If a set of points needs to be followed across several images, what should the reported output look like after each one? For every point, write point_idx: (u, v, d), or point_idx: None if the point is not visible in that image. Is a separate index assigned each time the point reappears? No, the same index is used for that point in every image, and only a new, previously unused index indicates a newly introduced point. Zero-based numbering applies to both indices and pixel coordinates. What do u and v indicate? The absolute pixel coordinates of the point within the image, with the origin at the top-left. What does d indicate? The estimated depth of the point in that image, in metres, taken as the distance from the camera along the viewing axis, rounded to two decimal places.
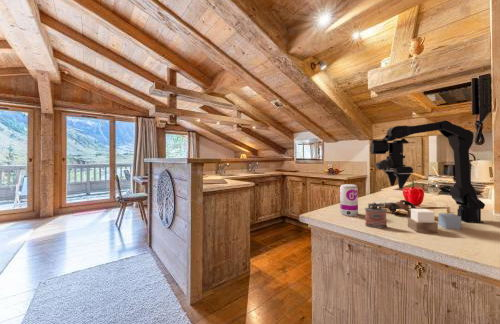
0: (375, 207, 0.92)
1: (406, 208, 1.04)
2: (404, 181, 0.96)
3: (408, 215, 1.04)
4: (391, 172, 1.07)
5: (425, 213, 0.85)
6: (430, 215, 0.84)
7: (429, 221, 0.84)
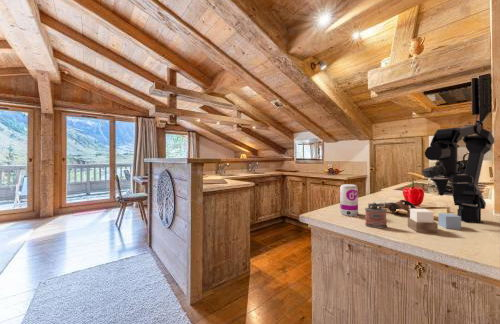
0: (375, 207, 0.92)
1: (406, 208, 1.04)
2: (461, 191, 0.84)
3: (408, 215, 1.04)
4: (440, 180, 0.94)
5: (424, 213, 0.85)
6: (429, 215, 0.84)
7: (428, 221, 0.84)
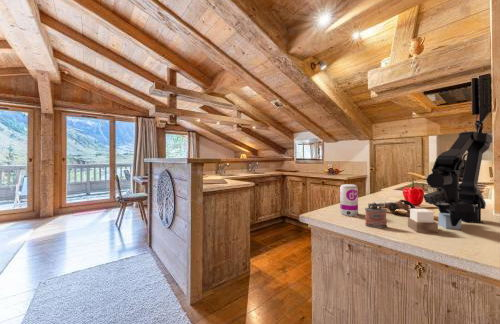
0: (375, 207, 0.92)
1: (406, 208, 1.05)
2: (459, 218, 0.85)
3: (408, 215, 1.05)
4: (444, 206, 0.92)
5: (424, 213, 0.85)
6: (429, 215, 0.84)
7: (428, 221, 0.84)
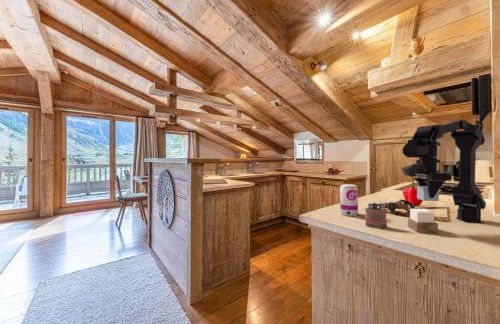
0: (375, 207, 0.92)
1: (405, 207, 1.05)
2: (436, 189, 0.83)
3: (407, 214, 1.05)
4: (423, 180, 0.90)
5: (425, 213, 0.85)
6: (430, 215, 0.84)
7: (429, 221, 0.84)
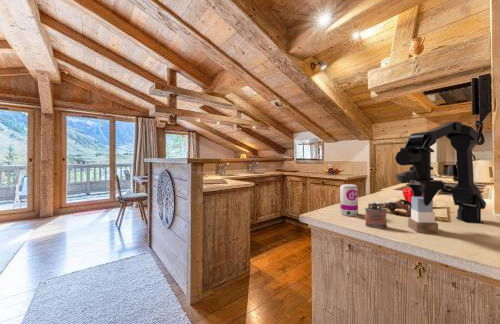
0: (375, 207, 0.92)
1: (405, 207, 1.06)
2: (431, 197, 0.82)
3: (407, 214, 1.05)
4: (416, 186, 0.91)
5: (425, 213, 0.84)
6: (430, 215, 0.84)
7: (429, 221, 0.84)
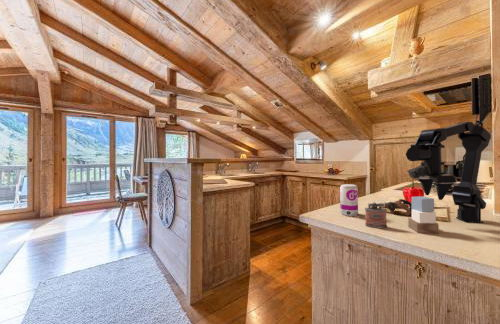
0: (375, 207, 0.92)
1: (405, 207, 1.06)
2: (445, 191, 0.85)
3: (407, 214, 1.06)
4: (426, 180, 0.96)
5: (427, 214, 0.84)
6: (432, 216, 0.83)
7: (431, 222, 0.83)
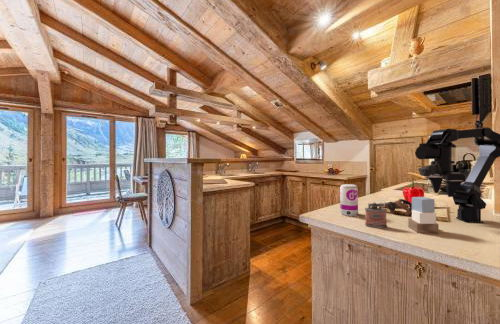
0: (375, 207, 0.92)
1: (405, 207, 1.06)
2: (454, 189, 0.89)
3: (407, 214, 1.06)
4: (435, 178, 1.00)
5: (427, 214, 0.83)
6: (432, 216, 0.83)
7: (431, 222, 0.83)
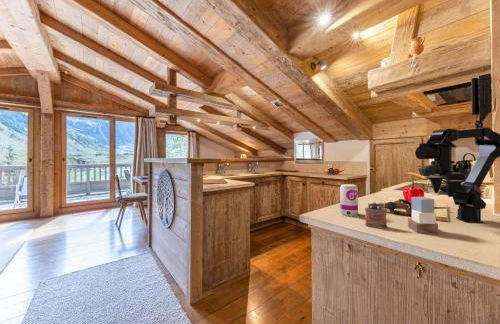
0: (375, 207, 0.92)
1: (405, 207, 1.07)
2: (454, 189, 0.89)
3: (406, 214, 1.06)
4: (435, 178, 1.00)
5: (427, 214, 0.83)
6: (432, 216, 0.83)
7: (431, 222, 0.83)
